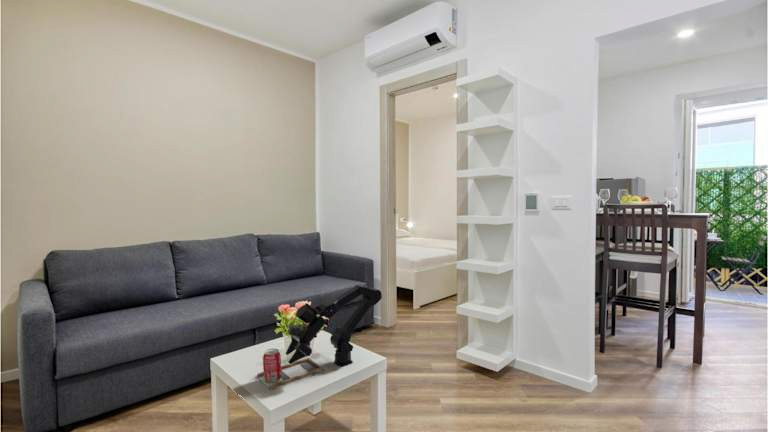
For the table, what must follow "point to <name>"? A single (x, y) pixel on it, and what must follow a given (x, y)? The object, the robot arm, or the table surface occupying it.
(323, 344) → the table surface
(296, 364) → the trap lane
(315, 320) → the robot arm
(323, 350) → the table surface
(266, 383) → the pad
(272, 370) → the soda can
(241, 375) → the table surface
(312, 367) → the trap strips
